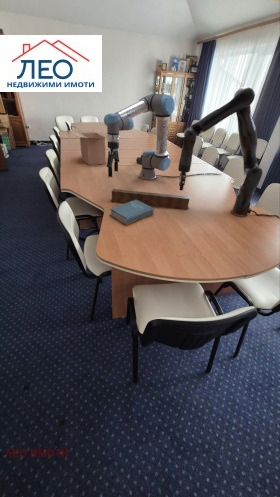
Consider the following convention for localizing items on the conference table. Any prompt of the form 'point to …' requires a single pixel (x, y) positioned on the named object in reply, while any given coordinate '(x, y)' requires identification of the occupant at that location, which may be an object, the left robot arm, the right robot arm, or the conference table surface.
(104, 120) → the left robot arm
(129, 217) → the book
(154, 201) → the beam
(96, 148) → the box
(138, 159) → the laser sight
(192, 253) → the conference table surface
